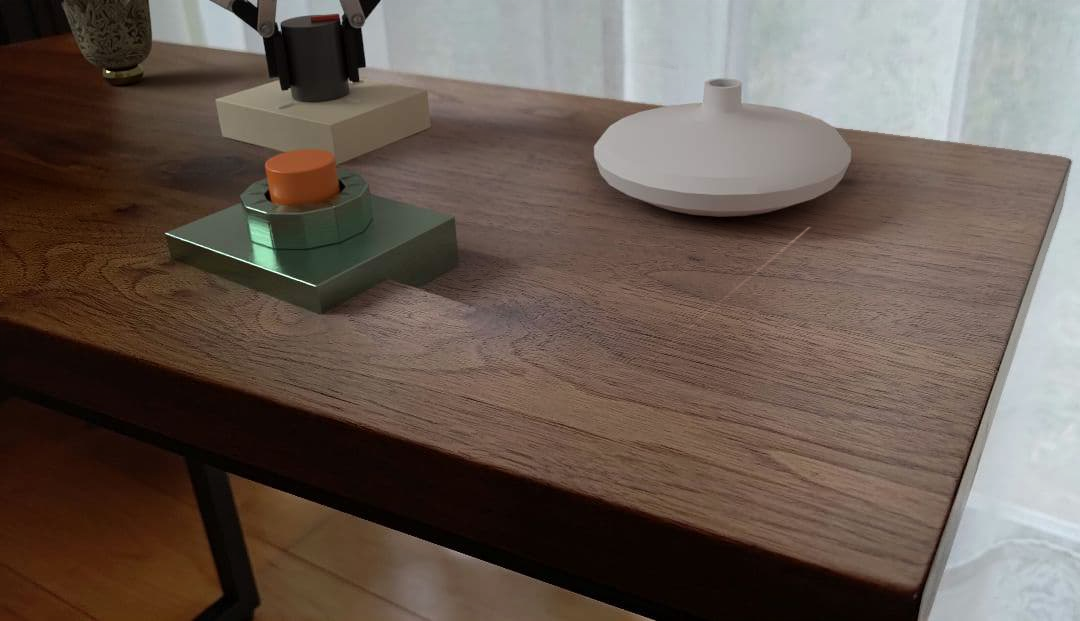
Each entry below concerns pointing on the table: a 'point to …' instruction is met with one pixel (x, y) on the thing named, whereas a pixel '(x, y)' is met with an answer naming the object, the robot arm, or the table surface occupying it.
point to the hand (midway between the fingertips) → (318, 79)
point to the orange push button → (302, 177)
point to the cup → (112, 36)
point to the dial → (315, 57)
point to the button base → (319, 244)
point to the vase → (722, 155)
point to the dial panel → (325, 118)
